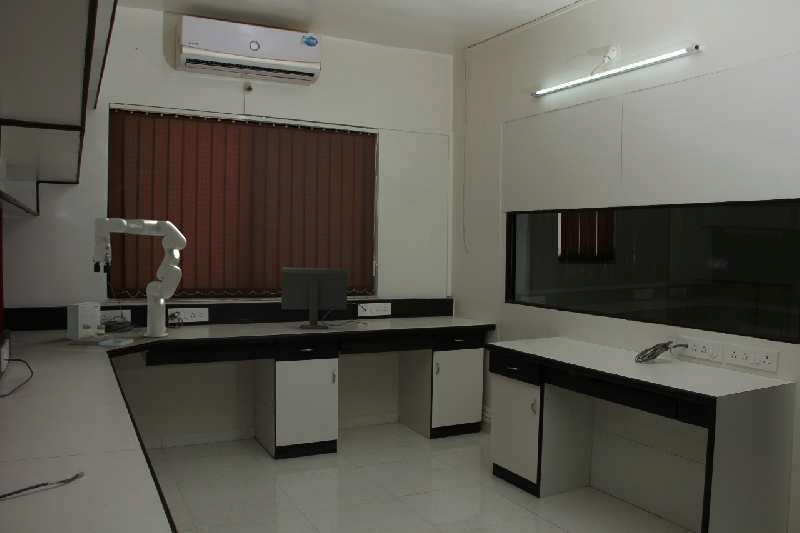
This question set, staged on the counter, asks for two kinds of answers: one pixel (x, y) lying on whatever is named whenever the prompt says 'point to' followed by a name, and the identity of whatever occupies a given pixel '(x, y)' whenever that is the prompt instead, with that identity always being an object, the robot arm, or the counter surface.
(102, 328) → the fuse
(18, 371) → the counter surface
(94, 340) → the fuse holder
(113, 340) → the parts tray
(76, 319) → the hard drive box
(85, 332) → the fuse
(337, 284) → the computer monitor
